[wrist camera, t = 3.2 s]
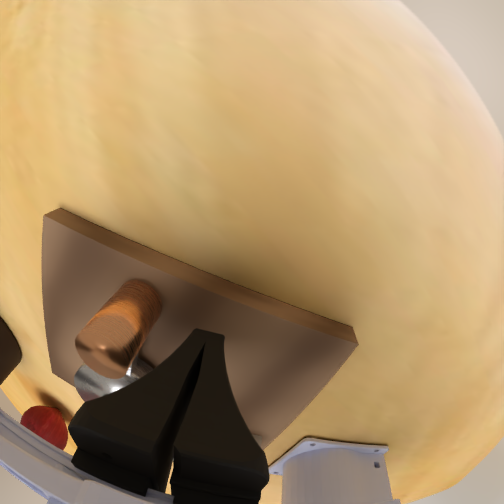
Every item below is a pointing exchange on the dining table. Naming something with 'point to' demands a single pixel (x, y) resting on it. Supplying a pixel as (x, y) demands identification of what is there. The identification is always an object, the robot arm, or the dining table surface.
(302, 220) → the dining table surface
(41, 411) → the onion
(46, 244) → the stand
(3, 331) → the bottle
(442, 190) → the dining table surface
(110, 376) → the grey and brown piece
